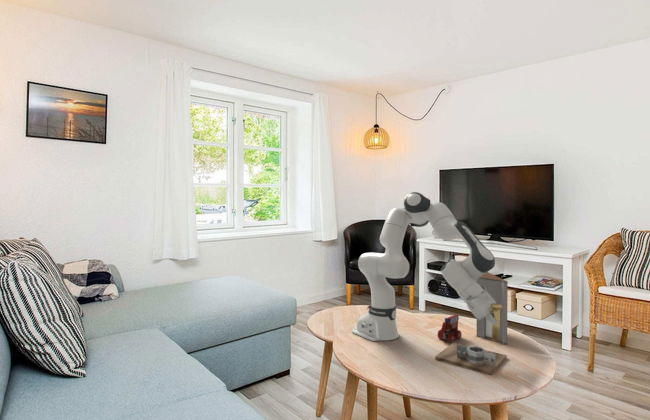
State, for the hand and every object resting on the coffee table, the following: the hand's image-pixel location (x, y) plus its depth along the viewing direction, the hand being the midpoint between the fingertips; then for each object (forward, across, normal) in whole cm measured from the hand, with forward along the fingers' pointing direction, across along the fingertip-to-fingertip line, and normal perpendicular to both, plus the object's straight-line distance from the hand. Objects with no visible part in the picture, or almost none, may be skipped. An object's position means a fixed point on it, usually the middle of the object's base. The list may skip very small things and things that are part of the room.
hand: (497, 322), depth 155 cm
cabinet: (+4, +27, +19) cm, 33 cm away
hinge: (+6, -7, +15) cm, 18 cm away
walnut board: (+5, -2, +18) cm, 19 cm away
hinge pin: (+5, 0, +6) cm, 7 cm away
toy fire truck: (-5, +14, +28) cm, 32 cm away
